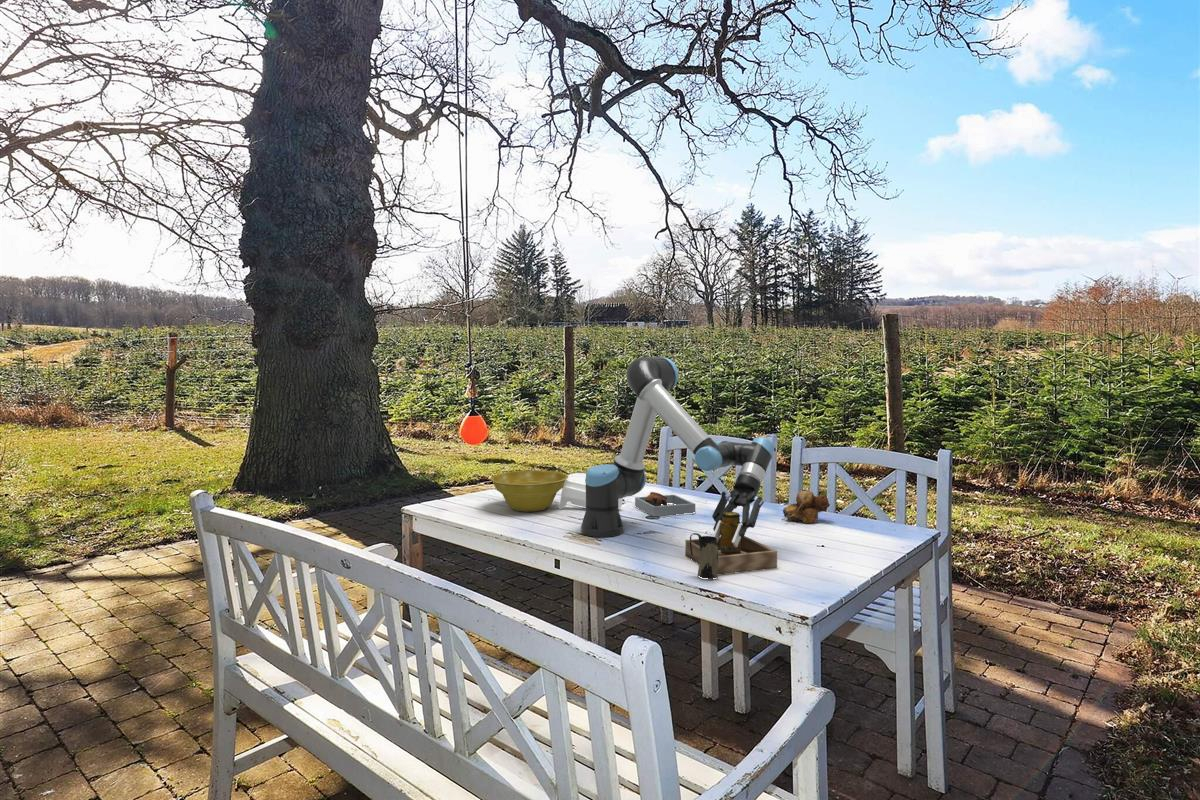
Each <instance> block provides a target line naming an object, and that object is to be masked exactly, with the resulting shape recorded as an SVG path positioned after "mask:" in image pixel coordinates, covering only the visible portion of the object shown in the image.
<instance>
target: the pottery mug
mask: <svg viewBox="0 0 1200 800" xmlns="http://www.w3.org/2000/svg"><path fill="white" fill-rule="evenodd" d="M645 497H646V500H645V502H647V503H649V504H651V505H653V506H667V502H666V500H667V498H666V497H665V496H663V494H661V493H659V492H654V491H650V492H649V494H648V495H647V496H645ZM661 504H663V505H661Z"/></svg>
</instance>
